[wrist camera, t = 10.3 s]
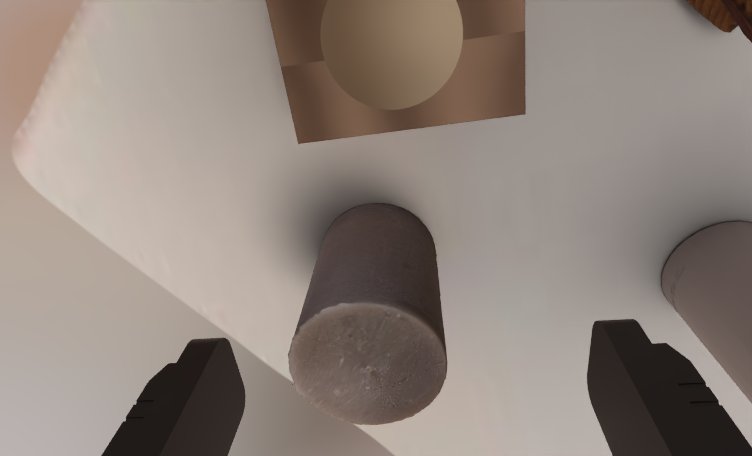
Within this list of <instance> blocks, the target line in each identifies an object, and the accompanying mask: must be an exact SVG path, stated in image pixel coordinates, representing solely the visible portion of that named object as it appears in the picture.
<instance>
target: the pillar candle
mask: <svg viewBox="0 0 752 456" xmlns="http://www.w3.org/2000/svg"><path fill="white" fill-rule="evenodd" d="M288 357H289V370H290V373H291V376H292V379H293V381H294V384H293V386H294V387H295V390H296V391H297V392H298V393H299V394H300V395H301V396H304V397H306V399H307V400H308V401H309V402H311V403H312V404H313V405H314V406H315V407H317V408H319V409H320V410H321V411H323V412H325V413H327V414H328V415H330V416H333V417H335V418H338V419H340V420H344V421H347V422H350V423H354V424H360V425H362V424H365V425H379V424H386V423H392V422H395V421H401V420H403V419H405V418H408V417H412V416H414V415H415V414H416V413H418V412H420V411H421V410H422V409H424V408H425V407H427V406H428V405H430V403H431V402H432V401H433V400H434V399H435V398H436V396H437V395H438V394H439V393H440V390H441V388H442V386H443V383H444V380H445V379H446V373H447V355H446V345H445V337H444V328H443V319H442V311H441V301H440V290H439V279H438V268H437V262H436V250H435V244H434V242H433V239H432V236H431V234H430V232H429V230H428V229H427V228H426V226H425V225H424V224H423V223H422V222H421V221H420V220H419V219H418V218H417V217H416V216H415V215H413V214H412V213H410V212H409V211H407V210H405V209H403V208H400V207H396V206H393V205H389V204H379V203H375V204H366V205H361V206H358V207H355V208H352V209H350V210H348V211H346V212H345V213H343V214H342V215H340V216H339V217H338V218H337V219H336V220H335V221H334V222H333V223H332V224H331V226H330V227H329V229H328V231H327V233H326V235H325V237H324V240H323V243H322V246H321V249H320V252H319V255H318V259H317V261H316V265H315V268H314V271H313V275H312V278H311V282H310V285H309V289H308V292H307V295H306V299H305V302H304V305H303V308H302V312H301V315H300V319H299V322H298V325H297V328H296V331H295V335H294V337H293V339H292V343H291V347H290V351H289V353H288Z"/></svg>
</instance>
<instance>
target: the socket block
mask: <svg viewBox="0 0 752 456" xmlns="http://www.w3.org/2000/svg"><path fill="white" fill-rule="evenodd" d="M327 1H328V0H266V3H267V8H268V12H269V16H270V21H271V25H272V30H273V34H274V38H275V43H276V47H277V52H278V56H279V60H280V65H281V69H282V74H283V78H284V83H285V87H286V91H287V96H288V100H289V105H290V109H291V113H292V118H293V122H294V127H295V131H296V135H297V140H298V144H301V143H309V142H317V141H324V140H332V139H339V138H347V137H355V136H362V135H370V134H378V133H385V132H393V131H401V130H408V129H416V128H424V127H431V126H439V125H447V124H454V123H462V122H469V121H477V120H485V119H492V118H500V117H508V116H515V115H523V114H525V0H456V1H457V4H458V6H459V9H460V13H461V17H462V24H463V42H462V49H461V53H460V57H459V60H458V62H457V65H456V67H455V69H454V71H453V73H452V75H451V76H450V78H449V79H448V80H447V82H446V83H445V84H444V85H443V87H442V88H441V89H440V90H439V91H438V92H436V93H435V94H434V95H433V96H431V97H430V98H428V99H427V100H425V101H423V102H421V103H419V104H417V105H415V106H412V107H409V108H404V109H397V110H385V109H378V108H373V107H370V106H367V105H365V104H363V103H361V102H359V101H357V100H355V99H354V98H352V97H351V96H349V95H348V94H347V93H346V92H345V91H344V90H343V89H342V88H341V87H340V86H339V85H338V84H337V82H336V81H335V80H334V78H333V77H332V75H331V73H330V71H329V70H328V68H327V65H326V62H325V60H324V56H323V52H322V48H321V35H320V30H321V21H322V17H323V13H324V9H325V6H326V4H327Z"/></svg>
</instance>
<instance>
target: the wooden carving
mask: <svg viewBox="0 0 752 456" xmlns="http://www.w3.org/2000/svg"><path fill="white" fill-rule="evenodd" d="M686 1H687V2H688V3H689V4H691V5H693V7H694V8H695V9H696V10H697V11H698V12H699V13H701V14H702V15H703V16H704V17H705V18H706V19H708V20H709V21H710V22H711V23H712V24H713V25H715V26H716V27H717V28H719V29H721V30H722V31H724V32H731V31H732V30H734V29H735V28H736V27H737V26H738V25H739V27H740V29H741V30H742V32H743V34H744V35H745V36H746V37H747V38H748V39H749V40H750V41H751V42H752V0H686Z"/></svg>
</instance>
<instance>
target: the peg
mask: <svg viewBox="0 0 752 456" xmlns="http://www.w3.org/2000/svg"><path fill="white" fill-rule="evenodd" d="M320 35H321V48H322V52H323V56H324V60H325V62H326V65H327V68H328V70H329V71H330V73H331V75H332V77H333V78H334V80H335V81H336V82H337V84H338V85H339V86H340V87H341V88H342V89H343V90H344V91H345V92H346V93H347V94H348V95H349V96H351V97H352V98H354V99H355V100H357V101H359V102H361V103H363V104H365V105H367V106H370V107H373V108H378V109H385V110H397V109H404V108H409V107H412V106H415V105H417V104H419V103H421V102H423V101H425V100H427V99H428V98H430V97H431V96H433V95H434V94H435V93H436V92H438V91H439V90H440V89H441V88H442V87H443V85H444V84H445V83H446V82H447V80H448V79H449V78H450V76H451V75H452V73H453V71H454V69H455V67H456V65H457V62H458V60H459V57H460V53H461V49H462V42H463V24H462V17H461V13H460V9H459V6H458V4H457V1H456V0H328V1H327V4H326V6H325V9H324V13H323V17H322V21H321V30H320Z"/></svg>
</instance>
